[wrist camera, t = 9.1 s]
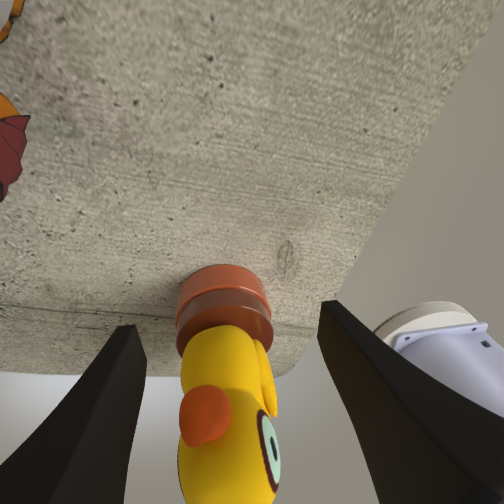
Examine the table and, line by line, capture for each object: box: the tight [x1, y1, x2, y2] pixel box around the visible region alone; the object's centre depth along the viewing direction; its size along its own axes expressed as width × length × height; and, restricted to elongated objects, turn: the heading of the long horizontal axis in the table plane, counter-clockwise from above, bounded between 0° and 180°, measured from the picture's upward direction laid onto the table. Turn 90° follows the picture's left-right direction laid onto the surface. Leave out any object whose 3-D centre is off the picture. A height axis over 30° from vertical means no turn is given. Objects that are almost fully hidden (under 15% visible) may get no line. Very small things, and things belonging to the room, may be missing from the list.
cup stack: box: [175, 264, 274, 358], centre depth 22 cm, size 7×7×4 cm
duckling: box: [177, 325, 280, 504], centre depth 16 cm, size 11×5×10 cm, turn 15°
